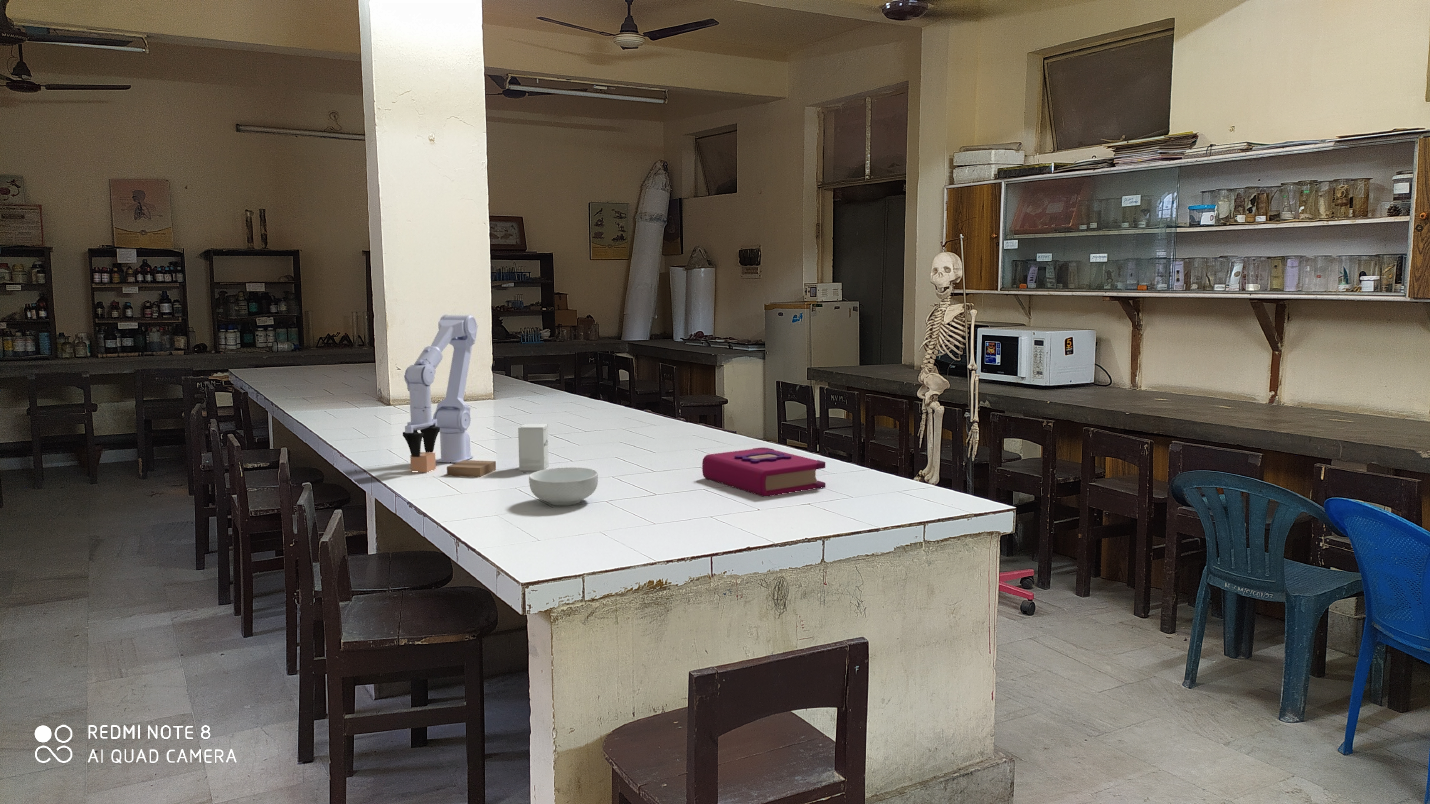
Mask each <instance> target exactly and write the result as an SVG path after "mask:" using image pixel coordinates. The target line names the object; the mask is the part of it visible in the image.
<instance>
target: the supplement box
mask: <svg viewBox="0 0 1430 804" xmlns="http://www.w3.org/2000/svg"><path fill="white" fill-rule="evenodd" d="M548 428H549V427H548V423H524V424H522V425H520V426H519V427H518V429H517V433H518V436H517V438H518V470H519V471H520V472H537V471H540V470H545V469H548V467H549V429H548Z"/></svg>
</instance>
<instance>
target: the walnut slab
mask: <svg viewBox="0 0 1430 804" xmlns="http://www.w3.org/2000/svg"><path fill="white" fill-rule="evenodd" d="M495 471H497V463H496V460H474V459H473V460H470V459H468V460H462V461H460V462H457V463H453V464H450V465H448V466H446V476H447V475H453V476H452V477H467V478H468V477H470V478H471V477H472V478H482V477H484V476H486V475H488V474H491V473H493V472H495Z"/></svg>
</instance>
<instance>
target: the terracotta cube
mask: <svg viewBox="0 0 1430 804" xmlns="http://www.w3.org/2000/svg"><path fill="white" fill-rule="evenodd" d="M409 457H410V472H411V471H418V472H428V473H430V472H429V471H431V470H433V471H435V470H434V469H436V468H437V466H436V465H437V462H436V461H435V460H436V452H424V451H423V452H422V451H420V457H412V455H411V454H410V455H409ZM436 470H437V469H436ZM431 472H432V471H431Z"/></svg>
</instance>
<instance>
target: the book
mask: <svg viewBox="0 0 1430 804" xmlns="http://www.w3.org/2000/svg"><path fill="white" fill-rule="evenodd" d="M701 466H702V467H701V470H702V471H701V472H702V476H703V478H704V479H706V478H707V480H711V481H713V482H716V481H717V482H716V483H719V482H720V484H722V483H723V485H725V484H726V486H730V487H732V488H735V487H736V489H738V488H739V490H741V489H742V490H741V491H745V492H749V493H751V492H752V494H754V493H755V494H754V495H757V494H758V496H760V495H761V497H764V496H768V497H771V496H770V495H774V496H779V495H778V494H781V495H783V494H782V493H787V494H790V493H789V492H794V493H796V492H795V491H800V492H802V491H801V490H807V491H809V490H808V489H813V488H821V487H825V488H826V482H824V481H820V480H818V479H817V477H816V476H817V475H816V472H817V470H822V469H826V462H825V461H823V460H819V459H813V458H808V457H804V456H800V455H798V454H797V455H796V454H793V453H790V452H789V453H788V452H784V451H780V450H776V449H774V448H770V447H755V448H749V449H743V450H733V451H726V452H725V451H724V452H718V453H711V454H706V455H705V456H704V457H703V458H702V464H701ZM821 489H822V488H821ZM813 490H814V489H813Z"/></svg>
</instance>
